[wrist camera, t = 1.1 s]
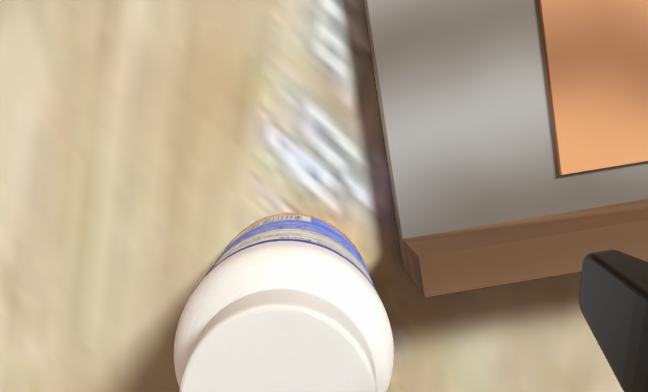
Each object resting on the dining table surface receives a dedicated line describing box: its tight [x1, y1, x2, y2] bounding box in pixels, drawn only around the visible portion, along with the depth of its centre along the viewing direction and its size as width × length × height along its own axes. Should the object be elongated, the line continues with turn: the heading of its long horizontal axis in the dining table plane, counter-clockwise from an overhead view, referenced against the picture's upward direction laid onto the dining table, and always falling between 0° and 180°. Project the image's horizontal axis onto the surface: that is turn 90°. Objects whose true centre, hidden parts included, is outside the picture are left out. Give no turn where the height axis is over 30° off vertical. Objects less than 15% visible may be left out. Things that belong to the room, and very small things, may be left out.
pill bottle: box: [174, 213, 394, 392], centre depth 17 cm, size 5×5×10 cm
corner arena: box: [363, 0, 648, 297], centre depth 19 cm, size 14×14×4 cm
